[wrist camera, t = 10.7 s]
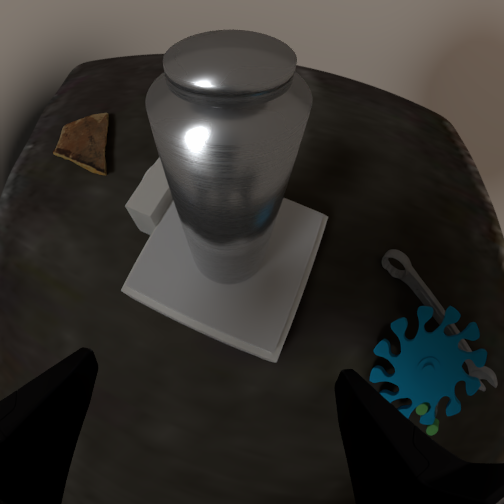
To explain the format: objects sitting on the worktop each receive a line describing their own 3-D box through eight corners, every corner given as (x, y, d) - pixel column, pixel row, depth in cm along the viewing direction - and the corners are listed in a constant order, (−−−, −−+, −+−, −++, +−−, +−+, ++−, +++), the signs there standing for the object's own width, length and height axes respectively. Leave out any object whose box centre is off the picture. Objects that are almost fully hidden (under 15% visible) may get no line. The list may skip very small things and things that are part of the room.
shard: (109, 181, 25) (103, 170, 23) (50, 201, 24) (42, 193, 22) (112, 118, 29) (108, 108, 27) (62, 136, 27) (57, 127, 26)
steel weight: (220, 299, 18) (196, 135, 5) (179, 242, 19) (114, 56, 6) (279, 256, 19) (357, 74, 6) (235, 205, 21) (246, 15, 7)
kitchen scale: (270, 361, 20) (280, 362, 16) (105, 283, 21) (83, 267, 17) (321, 225, 24) (336, 201, 20) (174, 169, 25) (167, 140, 22)
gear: (362, 317, 20) (484, 292, 14) (379, 310, 24) (475, 290, 18) (368, 441, 17) (481, 431, 11) (384, 414, 22) (477, 403, 16)
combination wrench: (392, 247, 21) (497, 396, 15) (399, 239, 21) (502, 386, 16) (373, 263, 24) (473, 396, 19) (380, 255, 25) (478, 387, 19)
